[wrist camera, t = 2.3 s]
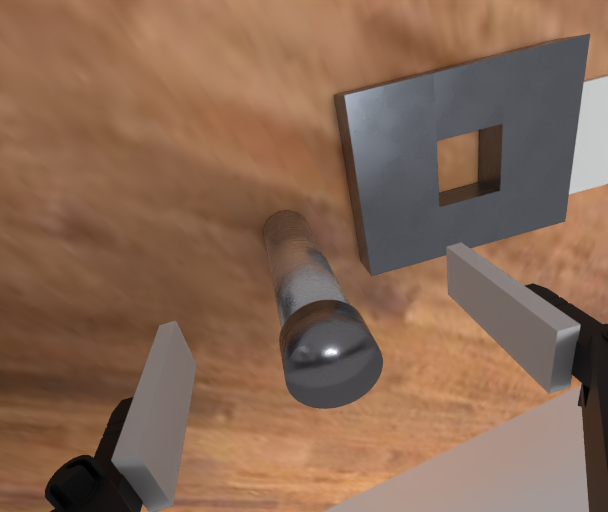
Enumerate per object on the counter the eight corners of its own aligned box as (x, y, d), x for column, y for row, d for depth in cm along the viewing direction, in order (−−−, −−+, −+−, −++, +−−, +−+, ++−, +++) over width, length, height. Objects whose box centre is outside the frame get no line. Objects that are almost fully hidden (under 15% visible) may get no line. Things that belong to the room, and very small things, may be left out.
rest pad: (547, 197, 28) (551, 199, 27) (558, 87, 24) (563, 87, 24) (639, 172, 28) (644, 173, 28) (664, 60, 25) (670, 60, 24)
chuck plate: (360, 261, 27) (371, 276, 25) (333, 94, 22) (344, 95, 20) (540, 211, 28) (565, 221, 26) (556, 39, 23) (590, 33, 21)
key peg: (268, 260, 26) (297, 419, 13) (254, 215, 24) (274, 348, 12) (315, 247, 26) (387, 392, 14) (305, 201, 24) (376, 318, 12)
